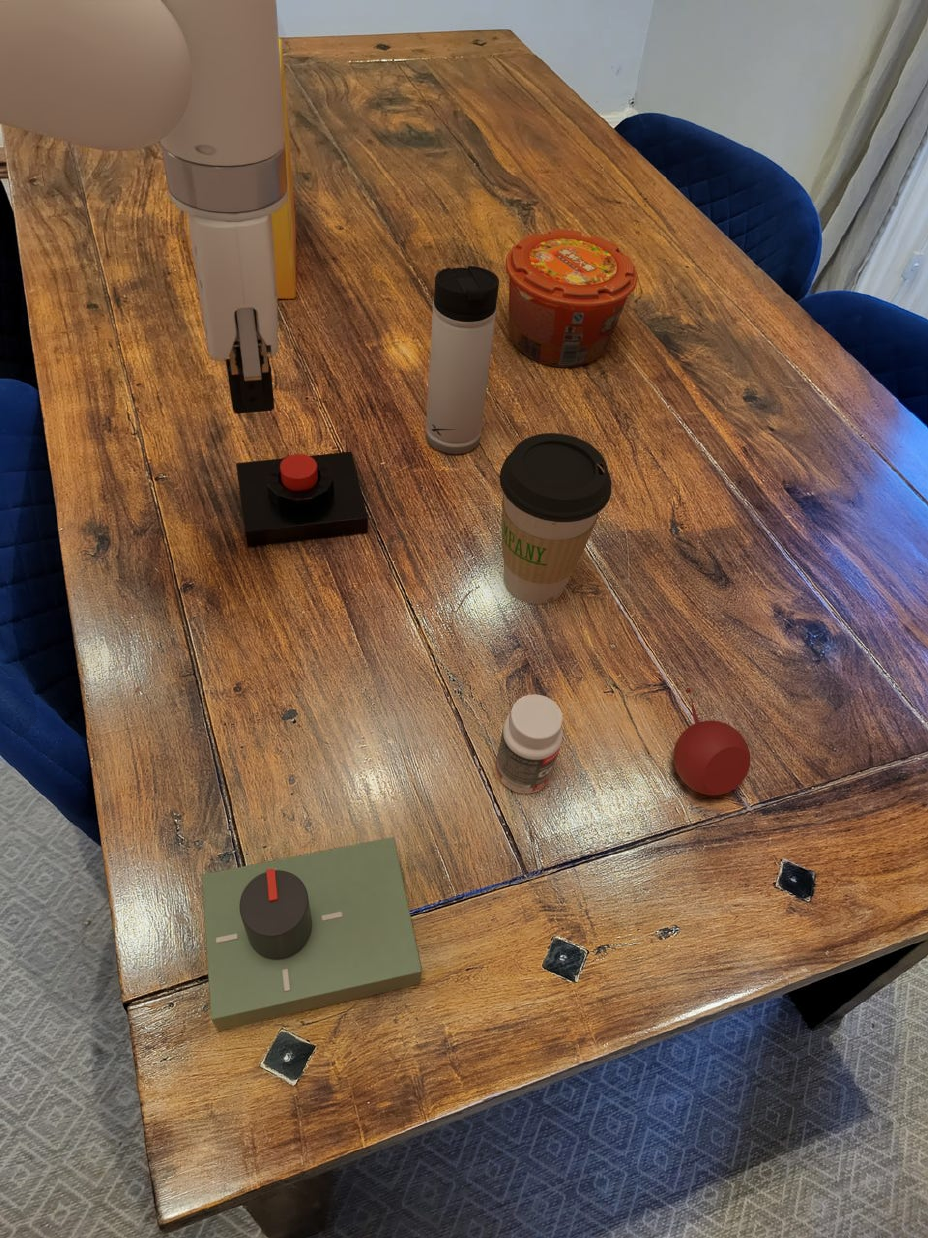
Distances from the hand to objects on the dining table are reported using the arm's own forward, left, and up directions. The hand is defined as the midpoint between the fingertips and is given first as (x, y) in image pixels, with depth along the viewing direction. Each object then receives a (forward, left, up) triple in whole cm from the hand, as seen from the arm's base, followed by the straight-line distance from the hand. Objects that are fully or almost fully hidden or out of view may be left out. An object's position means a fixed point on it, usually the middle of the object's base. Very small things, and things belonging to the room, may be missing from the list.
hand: (253, 405), depth 70 cm
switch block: (+4, +8, -19) cm, 21 cm away
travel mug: (+22, +16, -20) cm, 33 cm away
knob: (-3, -36, -16) cm, 40 cm away
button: (+4, +8, -16) cm, 18 cm away
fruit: (+33, -28, -20) cm, 47 cm away
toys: (+3, +55, -20) cm, 58 cm away
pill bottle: (+18, -26, -20) cm, 37 cm away
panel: (-1, -36, -19) cm, 41 cm away
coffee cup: (+25, -6, -20) cm, 32 cm away
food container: (+40, +33, -20) cm, 55 cm away
